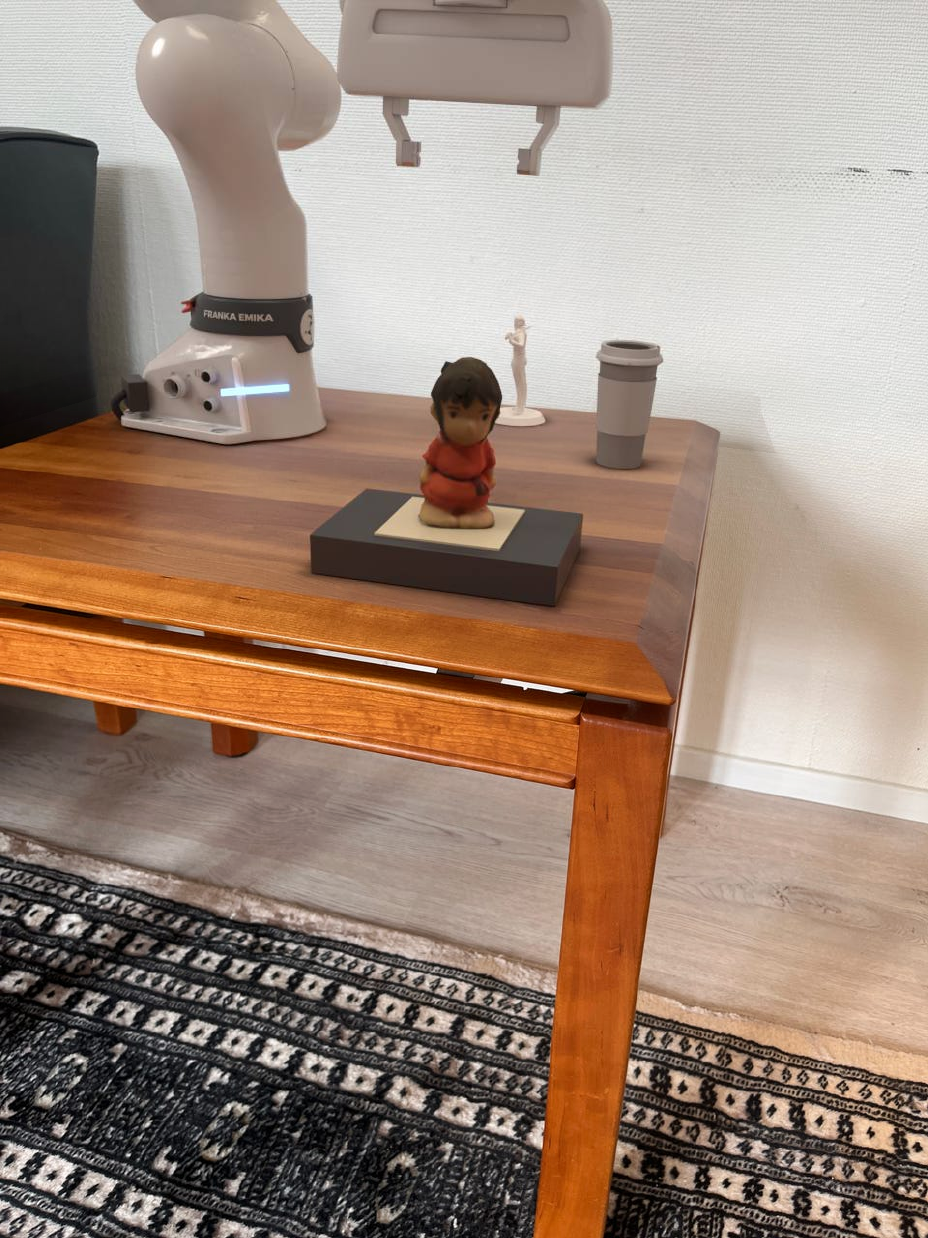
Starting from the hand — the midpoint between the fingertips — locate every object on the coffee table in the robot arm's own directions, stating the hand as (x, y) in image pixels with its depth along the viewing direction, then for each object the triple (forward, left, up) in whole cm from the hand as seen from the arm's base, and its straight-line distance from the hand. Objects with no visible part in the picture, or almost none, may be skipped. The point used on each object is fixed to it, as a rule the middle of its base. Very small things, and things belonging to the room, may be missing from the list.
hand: (467, 170), depth 75 cm
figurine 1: (+3, -12, -24) cm, 27 cm away
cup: (+12, +21, -27) cm, 37 cm away
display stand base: (+3, -12, -27) cm, 30 cm away
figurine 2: (-2, +36, -27) cm, 45 cm away
